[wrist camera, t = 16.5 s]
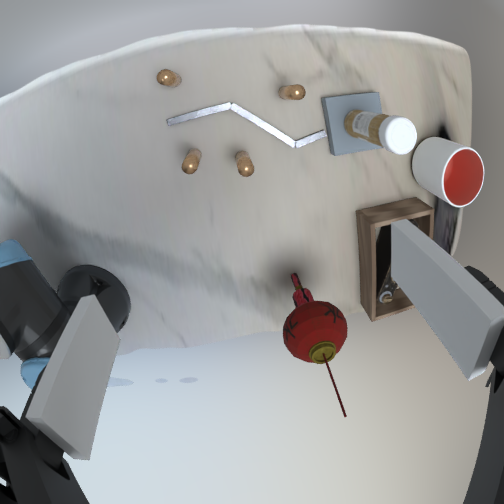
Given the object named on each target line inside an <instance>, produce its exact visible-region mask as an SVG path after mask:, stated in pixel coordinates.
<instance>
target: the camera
mask: <svg viewBox="0 0 504 504" xmlns="http://www.w3.org/2000/svg"><path fill="white" fill-rule="evenodd" d="M408 221H410V222H411V223H412V224H413V225H415V226H416V227H417V228H418V229H419V225H418V223H417V222H416V221H414V220H413V219H409V220H408ZM397 285H398V284H397V283H396V282H395V281H394V279H393V278H392V277H391V224H389V225H385V226H381V230H380V233H379V236H378V239H377V242H376V299H377V301H378V302H379V303H381V304H385V305H387V304H389V303H391V301H392V297H393V295H394V292H395V290H396V288H397Z"/></svg>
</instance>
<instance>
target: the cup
mask: <svg viewBox="0 0 504 504" xmlns="http://www.w3.org/2000/svg"><path fill="white" fill-rule="evenodd" d="M412 170H413V174H414V177H415V179H416V181H417V182H418V184H419V185H420V186H421V187H423V188H424V189H426V190H428V191H429V192H431V193H433V194H434V195H436V196H438V197H439V198H441V199H443V200H444V201H446V202H448V203H449V204H451V205H452V206H455V207H464V206H466V205H468V204H470V203H471V202H472V201H473V200H474V199H475V198H476V197H477V195H478V194H479V192H480V190H481V187H482V184H483V180H484V166H483V162H482V159H481V157H480V155H479V154H478V153H477V152H476V151H475V150H474V149H472V148H470V147H467V146H464V145H461V144H458V143H455V142H452V141H449V140H446V139H443V138H440V137H430V138H427V139H425V140H424V141H422V142H421V143H420V144H419V145H418V147H417V148H416V150H415V152H414V155H413V160H412Z"/></svg>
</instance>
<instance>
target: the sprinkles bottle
mask: <svg viewBox="0 0 504 504" xmlns="http://www.w3.org/2000/svg"><path fill="white" fill-rule="evenodd" d="M344 126H345V129H346V132H347V133H348V134H349V135H350V136H352V137H354V138H359V139H361V140H363V141H366V142H369V143H372V144H376V145H378V146H381V147H384V148H385V149H386V150H388V151H390V152H392V153H395V154H400V155H402V154H406V153H408V152H410V151H411V150H412V149H413V147H414V146H415V143H416V140H417V132H416V129H415V126H414V125H413V123H412V122H411V121H410V120H409V119H407V118H404V117H401V116H388V115H385V114H380V113H374V112H368V111H362V110H353V111H351V112H349V113H348V114H347V116H346V118H345V121H344Z"/></svg>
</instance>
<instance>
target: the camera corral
mask: <svg viewBox="0 0 504 504" xmlns="http://www.w3.org/2000/svg"><path fill="white" fill-rule="evenodd" d="M356 216H357V229H358V243H359V261H360V287H361V305H362V306H363V308H364V310H365V311H366V313H367V314H368V316H369V318H370V320H371V321H372V322H373V321H376V320H379V319H382V318H385V317H388V316H391V315H394V314H397V313H400V312H403V311H406V310H409V309H412V308H415V306H414V305H413V303H412V302H411V301H410V299H409V298H408V297H407V296H406V294H405V293H404V292H403V290H402V289H401V288H400V289H397V290H395V292H394V295H393V297H392V301H391V303H389V304H387V305H385V304H381V303H379V302H378V301H377V299H376V238H375V228H377V227H381V226H385V225H389V224H391V222H395V221H399V220H403V219H407V220H409V219H413V220H414V221H416V222H417V223H418V225H419V230H421V231H422V232H423V233H424V234H426V235H427V236H428V237H429V238H430V239H432V240H433V225H434V209H433V208H432V207H430V206H429V205H427V204H426V203H424V202H423V201H421V200H420V199H418V198H417V197H415V198H410V199H406V200H401V201H397V202H392V203H388V204H384V205H379V206H375V207H370V208H366V209H362V210H357V211H356Z"/></svg>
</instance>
